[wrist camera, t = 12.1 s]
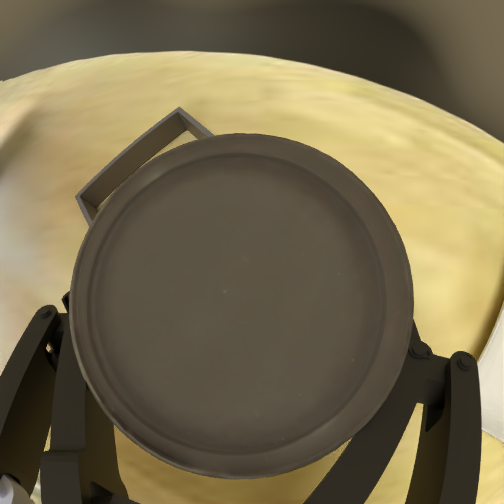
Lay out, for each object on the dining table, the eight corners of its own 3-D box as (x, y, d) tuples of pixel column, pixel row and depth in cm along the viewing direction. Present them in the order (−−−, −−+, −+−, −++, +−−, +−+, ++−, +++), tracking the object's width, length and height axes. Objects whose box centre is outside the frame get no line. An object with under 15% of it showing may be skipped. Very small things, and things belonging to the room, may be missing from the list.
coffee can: (221, 239, 23) (137, 121, 9) (350, 272, 21) (429, 171, 7) (181, 365, 20) (41, 386, 7) (313, 405, 18) (344, 513, 5)
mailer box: (90, 208, 28) (74, 196, 25) (188, 124, 29) (179, 106, 26) (257, 440, 19) (252, 454, 16) (391, 325, 20) (404, 323, 18)
